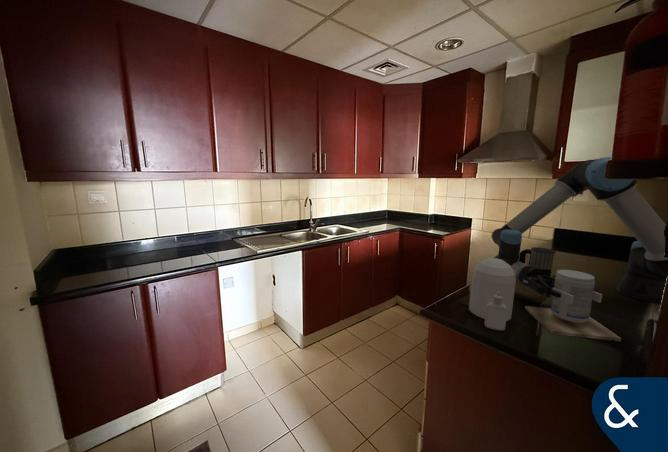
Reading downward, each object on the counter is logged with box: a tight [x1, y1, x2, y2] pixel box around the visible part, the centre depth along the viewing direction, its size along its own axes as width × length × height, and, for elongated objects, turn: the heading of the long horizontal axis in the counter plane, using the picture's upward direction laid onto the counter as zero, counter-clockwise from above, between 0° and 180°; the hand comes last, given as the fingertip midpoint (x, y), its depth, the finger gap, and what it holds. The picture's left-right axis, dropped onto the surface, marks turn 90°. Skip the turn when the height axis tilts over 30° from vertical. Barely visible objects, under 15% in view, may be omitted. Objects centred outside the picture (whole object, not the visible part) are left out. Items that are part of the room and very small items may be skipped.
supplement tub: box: [550, 269, 596, 323], centre depth 87 cm, size 10×10×15 cm
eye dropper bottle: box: [484, 292, 507, 331], centre depth 85 cm, size 4×6×12 cm
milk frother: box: [519, 246, 556, 277], centre depth 127 cm, size 14×16×15 cm
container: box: [468, 257, 517, 322], centre depth 94 cm, size 14×13×20 cm
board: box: [524, 305, 622, 342], centre depth 89 cm, size 18×17×1 cm
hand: (586, 299), depth 83 cm, fingers closed on supplement tub, 9 cm apart
